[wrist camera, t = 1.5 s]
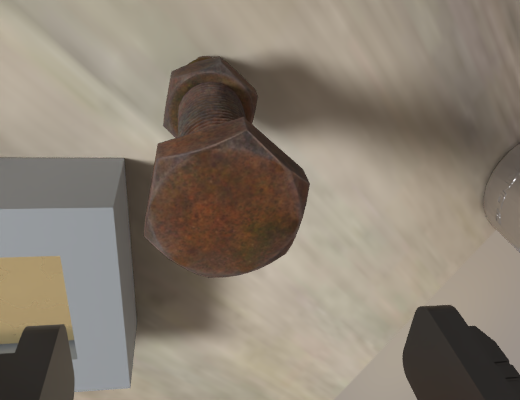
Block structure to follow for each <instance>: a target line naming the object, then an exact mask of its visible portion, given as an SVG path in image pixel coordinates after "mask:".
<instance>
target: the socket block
mask: <svg viewBox="0 0 520 400" xmlns="http://www.w3.org/2000/svg"><path fill="white" fill-rule="evenodd" d="M38 256H60V258H61V264H62V270H63V276H64V282H65V288H66V294H67V299H68V305H69V311H70V317H71V323H72V329H73V335H74V340H68V341H69V346H70V352H71V358H72V363H73V369H74V377H75V387H74V392H81V391H95V390H109V389H123V388H130V386H131V376H132V366H133V357H134V347H135V337H136V328H137V316H136V304H135V291H134V278H133V265H132V252H131V239H130V226H129V213H128V200H127V187H126V174H125V161H124V158H0V258H3V257H38ZM17 345H18V343H10V344H0V354H3V353H15V351H16V348H17Z"/></svg>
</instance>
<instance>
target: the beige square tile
mask: <svg viewBox="0 0 520 400" xmlns="http://www.w3.org/2000/svg"><path fill="white" fill-rule="evenodd" d="M59 324H64V325H65V327H66V330H67V335H68V340H74V335H73V329H72V323H71V317H70V311H69V305H68V299H67V294H66V288H65V282H64V276H63V270H62V264H61V258H60V256H38V257H3V258H0V344H10V343H19V340H20V337H21V334H22V332H23V330H24V328H25V327H27V326H40V325H59Z"/></svg>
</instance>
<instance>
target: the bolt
mask: <svg viewBox="0 0 520 400" xmlns="http://www.w3.org/2000/svg"><path fill="white" fill-rule="evenodd" d="M257 97H258V95H257V93H256V91H255V89H254V88H253V87H252V86H251V85H250V84H249V83H248V82H247V81H246V80H245V79H244V78H243V77H242V76H241V75H240V74H239V73H238V72H237V71H236V70H235V69H234V68H233V67H231V66H230V65H229V64H228V63H227V62H226V61H224V60H223V59H222V58H221V57H214V58H212V57H210V56H201V57H198V58H197V59H196V60H194V61H192V62H191V63H189V64H188V65H186V66H183V67H181V68H179V69H177V70H174V71H172V73H171V78H170V84H169V89H168V95H167V101H166V107H165V114H164V124H163V126H164V127H165V128H166V129H167V130H168V131H169V132H170V133H171V134H172V135H173V136H174V137H176V138H174V139H171V140H168V141H165V142H162V143H159V144H158V146H157V152H156V158H155V164H154V169H153V175H152V181H151V187H150V193H149V199H148V205H147V211H146V217H145V226H144V237H145V238H146V239H147V240H148V241H149V242H150V243H151V244H152V245H154V246H155V247H156V248H157V249H158V250H159V251H160V252H161V253H163V254H164V255H165V256H166V257H167V258H169V259H170V260H171V261H173V262H175V263H176V264H178V265H180V266H181V267H183V268H185V269H186V270H188V271H191V272H193V273H195V274H198V275H202V276H205V277H208V278H213V277H230V276H237V275H241V274H245V273H249V272H252V271H255V270H258V269H260V268H262V267H264V266H266V265H268V264H270V263H272V262H273V261H275V260H277V259H278V258H280V257H281V256H283V255H285V254H286V253H287V251H288V250H289V248H290V246H291V245H292V243H293V241H294V239H295V237H296V234H297V232H298V229H299V226H300V224H301V221H302V218H303V214H304V210H305V206H306V202H307V196H308V191H309V185H310V183H309V181H308V179H307V177H306V175H305V173H304V171H303V169H302V168H301V167H300V166H299V165H298V164H296V163H295V162H294V161H293V160H292V159H291V158H290V157H288V156H287V155H286V154H285V153H284V152H283V151H282V150H280V149H279V148H278V147H277V146H276V145H275V144H274V143H272V142H271V141H270V140H269V139H268V138H267V137H266V136H264V135H263V134H262V133H261V132H260V131H259V130H258V129H257V128H255V127H254V126H253V125H252V122H253V118H254V113H255V109H256V103H257Z"/></svg>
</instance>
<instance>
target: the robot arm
mask: <svg viewBox="0 0 520 400" xmlns="http://www.w3.org/2000/svg"><path fill="white" fill-rule="evenodd" d="M484 210H485V214H486V217H487V219H488V220H489V222H490V223H491V225H492V226H493V227H494V228H495V229H496V230H497V231H498V232H499V233H500V234H501V235H502V236H504V238H506V239H507V240H508V241H509V242H510V243H511V244H512V245H513V246H514V247H515V248H516V249H517V250H518V251H519V252H520V143H519V144H518V145H517V146H515V147H514V148H513V149H512V150H510V151H509V152H508V153H507V155H506V156H505V157H504V158H503V159H502V160H501V161H500V162H499V164H498V165H497V166H496V168H495V169H494V171H493V172H492V174H491V176H490V178H489V181H488V183H487V185H486V189H485V194H484ZM403 367H404V371H405V374H406V377H407V379H408V381H409V383H410V385H411V387H412V389H413V392H414V394H415V395H416V397H417V400H520V375H519V373H518V372H517V370H516V369H515V368H514V366H513V365H510V364H509V360H508V358H507V357H506V356H505V354H504V353H503V352H502V351H501V349H500V348H499V346H498V345H497V344H496V342H495V341H493V340H492V339H491V338H490V337H488V336H487V335H486V334H485V333H483V332H482V331H481V330H480V329H478V328H477V327H476V326H468V325H467V324H466V322H465V321H464V319H463V318H462V317H461V315H460V314H459V312H458V311H457V310H456V308H454V307H453V306H451V305H440V306H421V307H418V308H417V310H416V312H415V315H414V318H413V321H412V324H411V328H410V331H409V334H408V337H407V341H406V344H405V347H404V350H403ZM74 387H75V377H74V369H73V363H72V358H71V352H70V346H69V341H68V335H67V330H66V327H65V325H64V324H59V325H40V326H27V327H25V328H24V330H23V332H22V334H21V337H20V340H19V343H18V345H17V348H16V351H15V353H3V354H0V400H73V398H74Z"/></svg>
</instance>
